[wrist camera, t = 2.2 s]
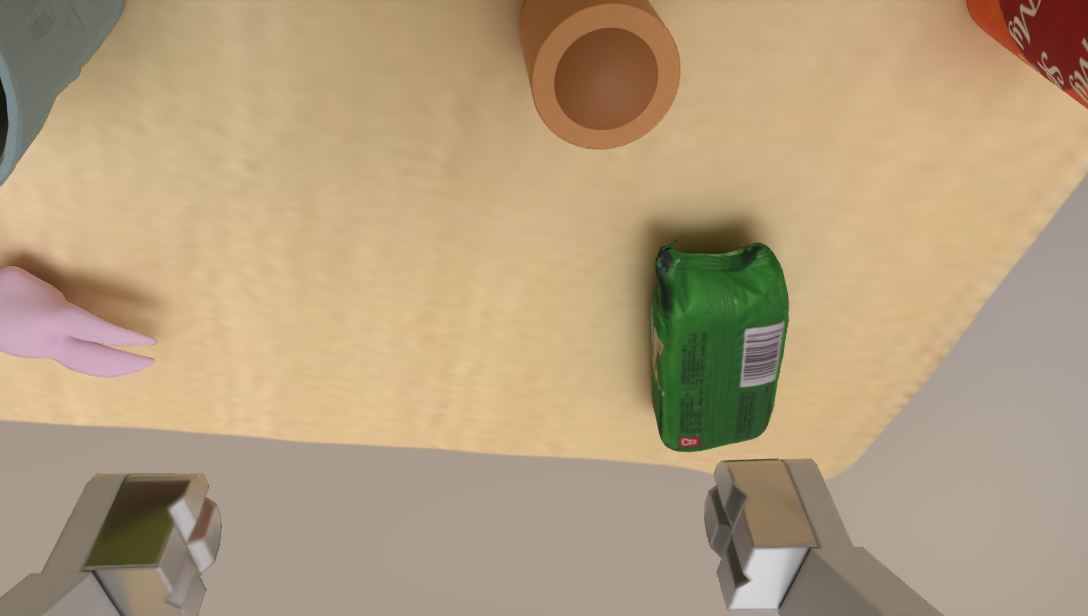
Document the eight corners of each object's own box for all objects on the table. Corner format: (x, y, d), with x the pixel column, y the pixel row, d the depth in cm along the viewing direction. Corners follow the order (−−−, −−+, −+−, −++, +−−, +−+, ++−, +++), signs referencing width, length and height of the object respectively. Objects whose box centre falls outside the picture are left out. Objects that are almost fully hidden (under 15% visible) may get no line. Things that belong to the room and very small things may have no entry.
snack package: (773, 202, 39) (809, 258, 35) (749, 404, 48) (775, 466, 44) (641, 220, 39) (662, 278, 34) (643, 418, 48) (660, 481, 44)
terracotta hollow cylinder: (515, -38, 30) (529, 15, 24) (649, -48, 30) (692, 4, 25) (523, 92, 33) (536, 165, 28) (643, 83, 34) (679, 153, 28)
